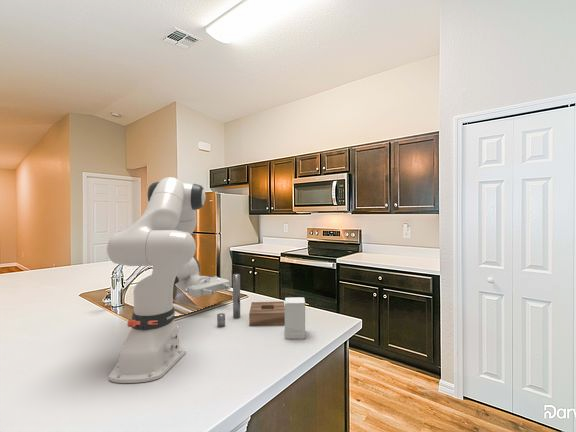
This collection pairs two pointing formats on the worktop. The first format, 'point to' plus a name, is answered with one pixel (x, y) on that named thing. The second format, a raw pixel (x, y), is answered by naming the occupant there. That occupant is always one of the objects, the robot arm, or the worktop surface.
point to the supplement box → (295, 318)
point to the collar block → (267, 313)
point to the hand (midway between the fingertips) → (220, 290)
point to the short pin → (221, 320)
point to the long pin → (236, 296)
